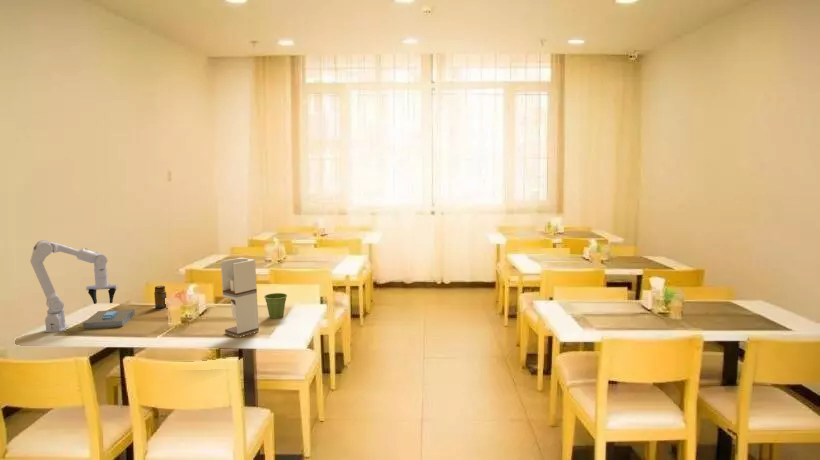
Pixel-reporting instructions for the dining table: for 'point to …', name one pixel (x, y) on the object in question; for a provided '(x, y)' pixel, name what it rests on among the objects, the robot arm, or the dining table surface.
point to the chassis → (116, 321)
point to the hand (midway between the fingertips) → (103, 303)
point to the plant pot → (275, 304)
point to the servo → (109, 315)
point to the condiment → (160, 298)
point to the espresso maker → (241, 294)
